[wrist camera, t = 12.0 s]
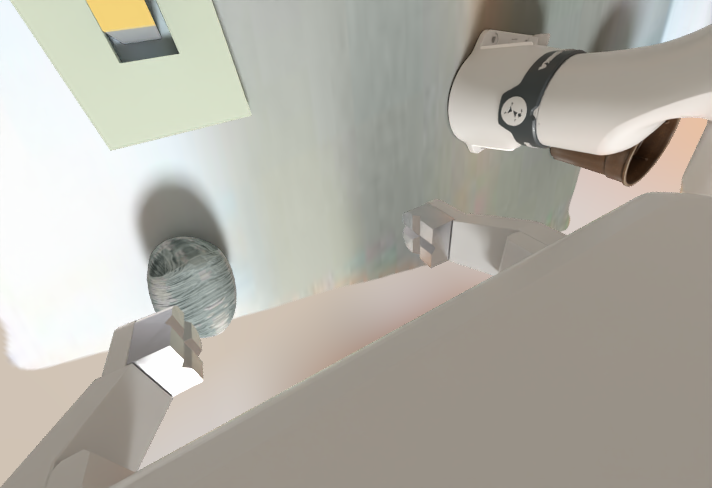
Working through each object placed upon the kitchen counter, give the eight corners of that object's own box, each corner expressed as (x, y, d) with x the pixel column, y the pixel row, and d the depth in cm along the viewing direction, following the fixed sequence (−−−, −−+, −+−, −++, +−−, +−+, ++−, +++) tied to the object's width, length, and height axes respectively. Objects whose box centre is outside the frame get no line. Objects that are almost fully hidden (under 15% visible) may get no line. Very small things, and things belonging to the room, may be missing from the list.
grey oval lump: (113, 243, 29) (167, 298, 26) (200, 212, 36) (252, 252, 32) (145, 318, 37) (189, 367, 34) (211, 282, 44) (253, 320, 41)
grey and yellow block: (141, -7, 24) (126, -40, 18) (161, 38, 26) (155, 24, 19) (99, -3, 23) (65, -36, 17) (123, 44, 25) (102, 30, 18)
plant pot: (583, 146, 72) (665, 160, 60) (541, 180, 70) (617, 201, 57) (595, 81, 62) (696, 81, 50) (545, 118, 59) (639, 127, 47)
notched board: (200, -25, 26) (201, -30, 24) (249, 114, 32) (251, 115, 31) (9, -10, 21) (0, -15, 20) (113, 147, 28) (110, 150, 27)
